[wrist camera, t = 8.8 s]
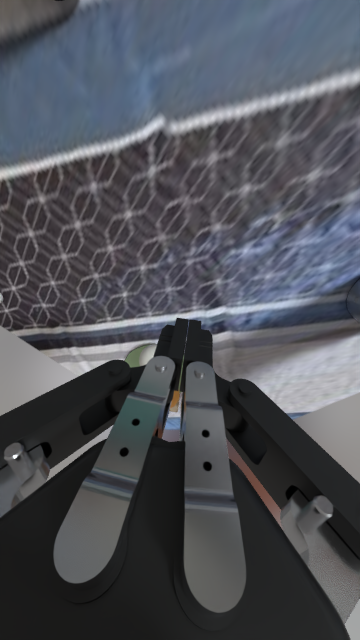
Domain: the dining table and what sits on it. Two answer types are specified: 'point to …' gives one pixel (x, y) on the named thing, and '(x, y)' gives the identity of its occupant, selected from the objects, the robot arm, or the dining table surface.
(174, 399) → the orange ball
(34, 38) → the dining table surface
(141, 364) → the white ball
